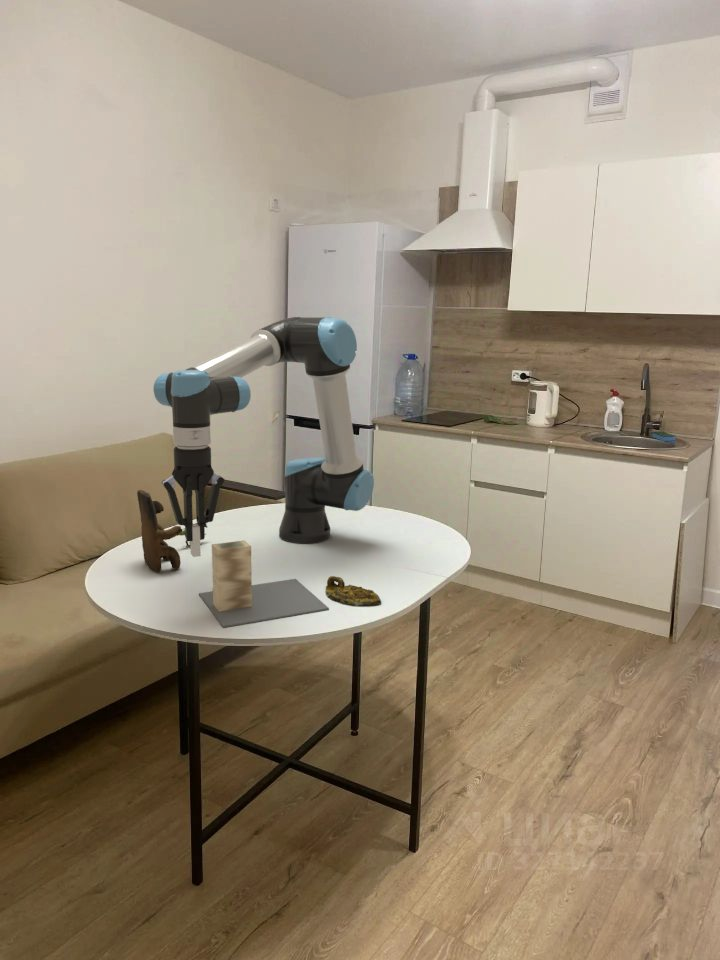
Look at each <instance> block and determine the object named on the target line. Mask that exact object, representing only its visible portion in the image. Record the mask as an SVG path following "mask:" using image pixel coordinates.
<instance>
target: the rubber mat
mask: <svg viewBox="0 0 720 960" xmlns="http://www.w3.org/2000/svg"><path fill="white" fill-rule="evenodd" d="M198 596H199V597H200V598H201V600H202V601H203V602H204V604H205V605H206V607H207V608H208V609H209V610H210V612H211V613H212V615H213V616H214V617H215V619H216V620H217V621H218V623H219V624H220V626H221V627H222V628H223V629H225V628H231V627H238V626H243V625H248V624H255V623H260V622H261V623H262V622H266V621H271V620H276V619H277V620H278V619H282V618H284V619H285V618H288V617H289V618H290V617H295V616H301V615H306V614H307V615H308V614H312V613H317V612H323V611H329V609H330V608H329V607H328V605H326V604H325V603H324V602H323V601H322V600H321V599H320V598H318V597H317V596H316V595H315V594H314V593H312V592H311V590H309V589H308V588H307V587H305V585H304V584H303V583H302V582H300V581H299V580H298V579H296V578H291V579H284V580H283V579H282V580H277V581H271V582H265V583H257V584H252V606H250V607H244V608H238V609H232V610H226V611H220V612H219V611H218V610H217V609H216V607H215V606H214V605H213V590H212V591H211V590H210V591H205V592H199V593H198Z"/></svg>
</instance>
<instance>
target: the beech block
mask: <svg viewBox="0 0 720 960" xmlns="http://www.w3.org/2000/svg"><path fill="white" fill-rule="evenodd" d="M211 563H212V564H211V565H212V566H211V567H212V569H211V570H212V573H211V574H212V591H213V605H214V606H215V607H216V609H217V610H218V611H219V612H220V611H226V610H232V609H238V608H244V607H250V606H252V585H253V583H252V581H253V578H252V570H253V569H252V545H251V544H250V543H249V542H247V541H246V539H244V540H235V541H228V542H227V541H226V542H220V543H212V544H211Z"/></svg>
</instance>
